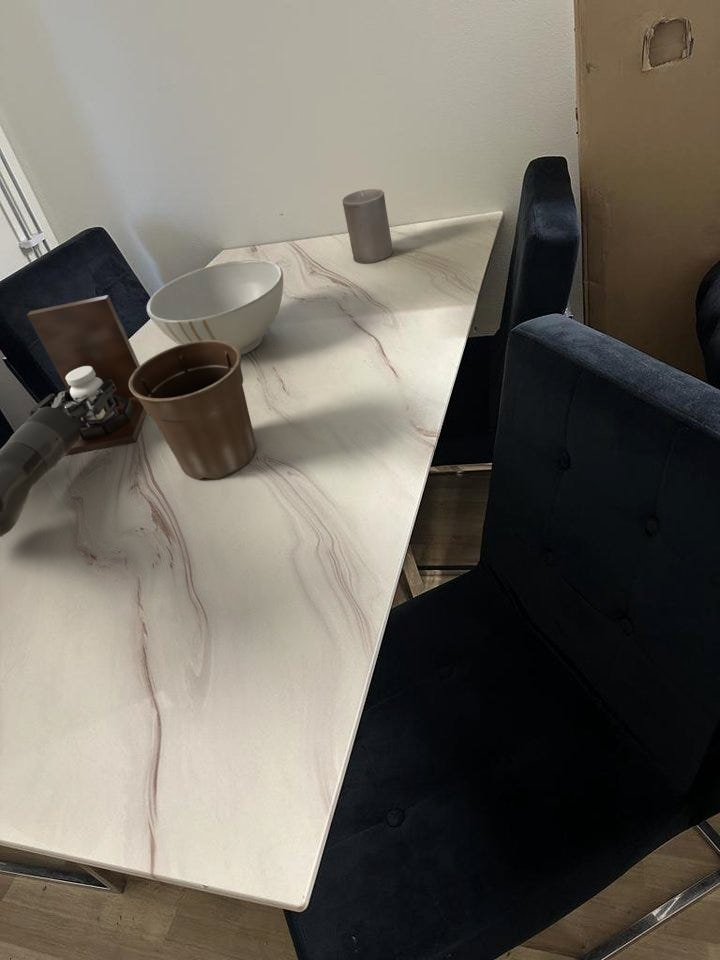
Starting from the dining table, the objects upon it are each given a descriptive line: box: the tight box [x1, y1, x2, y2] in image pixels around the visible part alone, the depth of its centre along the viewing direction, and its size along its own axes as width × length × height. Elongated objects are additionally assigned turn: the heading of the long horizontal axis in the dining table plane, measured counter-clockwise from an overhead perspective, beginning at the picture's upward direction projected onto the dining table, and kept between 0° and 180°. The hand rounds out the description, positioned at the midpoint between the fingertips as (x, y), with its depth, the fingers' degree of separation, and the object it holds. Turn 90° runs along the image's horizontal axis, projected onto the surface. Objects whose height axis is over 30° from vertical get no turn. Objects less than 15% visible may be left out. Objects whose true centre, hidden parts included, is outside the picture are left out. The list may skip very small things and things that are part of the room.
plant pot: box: [129, 340, 257, 481], centre depth 99 cm, size 16×16×16 cm
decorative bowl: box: [146, 259, 284, 356], centre depth 131 cm, size 27×27×12 cm
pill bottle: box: [66, 366, 119, 427], centre depth 114 cm, size 6×6×10 cm
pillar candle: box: [342, 188, 394, 264], centre depth 153 cm, size 10×10×15 cm
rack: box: [26, 294, 148, 456], centre depth 113 cm, size 14×15×20 cm
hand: (96, 384), depth 116 cm, fingers open, 6 cm apart
